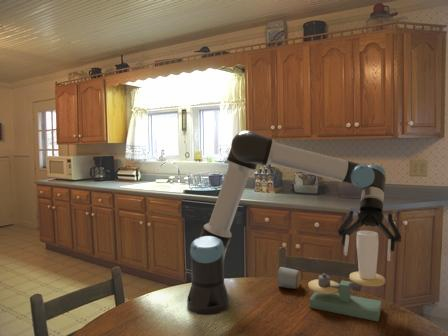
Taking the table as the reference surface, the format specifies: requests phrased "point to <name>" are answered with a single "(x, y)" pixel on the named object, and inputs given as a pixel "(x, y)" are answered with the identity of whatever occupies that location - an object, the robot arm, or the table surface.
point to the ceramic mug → (288, 278)
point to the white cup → (367, 253)
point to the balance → (345, 296)
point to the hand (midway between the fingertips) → (366, 256)
